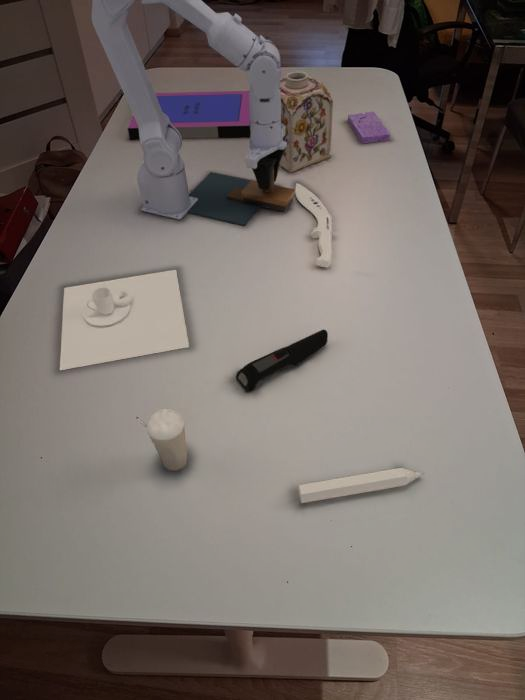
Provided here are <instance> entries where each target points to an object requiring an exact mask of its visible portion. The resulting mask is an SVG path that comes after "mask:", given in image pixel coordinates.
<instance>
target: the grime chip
mask: <svg viewBox="0 0 525 700" xmlns="http://www.w3.org/2000/svg"><path fill="white" fill-rule="evenodd" d="M242 190H243V188H238V187H235V188H234V189H233V190H232V191H231V192H230V193H229V195H228V196H227V199H228V200H233V201H237V202H242V203H244V198H243V197H241V191H242Z"/></svg>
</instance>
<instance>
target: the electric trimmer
mask: <svg viewBox="0 0 525 700" xmlns="http://www.w3.org/2000/svg"><path fill="white" fill-rule="evenodd" d="M328 333H329V332H328V331H327V330H326V329H321V330H319V331H316V332H314V333H311V334H310V335H308V336H306V337H304V338H301V339H299V340H297V341H296V342H292V343H291V344H289V345H287V346H284V347H280V348H278V349H277V350H274V351H272V352H269V353H268V354H266V355H264V356H262V357H261V356H260V357H259V358H257V359H254V360H253V361H251V362H248V363H247V364H245V365H244V366H243V367H242V368H240V369H239V370H238V371H237V373H236V375H235V380H236V382H237V383H238V384H239V386H241V389H243V391H244V392H248V391H250V392H251V391H253V390H254V389H255V388H256V387H257V386H258V384H259V383H260V382H261V381H264V380H265V379H267V378H269V377H271V376H273V375H274V374H276V373H278V372H279V371H281V370H284V369H285V368H287V367H288V366H290V367H291V366H292V367H296V366H298V365H300V364H301V363H303V362H304V361H306V360H307V359H308V358H310V357H312V356H313V355H314V354H316V353H317V352H318V351H320V350H321V349H324V347H326V346H327V344H328V337H329V334H328Z"/></svg>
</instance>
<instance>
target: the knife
mask: <svg viewBox="0 0 525 700" xmlns="http://www.w3.org/2000/svg"><path fill="white" fill-rule="evenodd" d="M294 189H295V197H296V199H297V201H298V202H299V203H300V204H301V205H302V206H303V207H304V208H305V209H307V210H308V211H309V212H310V213H311V214H312V215H313V216H314V217H315V218H316V222H317V225H316V227H314V228H313V230H311V233H310V236H311V237H312V239H318V242H317V246H318V249H319V253H320V256H319V257H316V258H315V259H314V264H315V265H316V266H318V267H321V268H329V267H330V266H331V264H332V261H333V260H332V259H333V226H332V225H333V223H332V222H333V221H332V220H333V219H332V218H333V217H332V215H331V214H330V212H329V211H328V209H327V208H326V206H325V205H324V204H323V202H322V201H321V200H320V198H318V196H316V194H314V193H313V192H312V191H310V189H308V188H307V187H305V186H303V185H302V184H300V183H298V182H296V184H295V188H294Z"/></svg>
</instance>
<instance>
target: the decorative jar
mask: <svg viewBox="0 0 525 700" xmlns="http://www.w3.org/2000/svg"><path fill="white" fill-rule="evenodd" d="M279 89H280V92H281V125H284V126H285V136H284V137H283V141H285V142H287V146H286V150H285V152H284V154H283V156H282V158H281V161H280V165H279V167H281V168H283V169H285V170H286V171H287V172H289V173H293V172H296V171H298V170H301V169H303V168H306V167H308V166H311V165H313V164H317V163H319V162H322V161H323V160H326V159H329V158H330V156H331V146H332V131H333V129H332V128H333V110H334V109H333V108H334V100H333V98H332V96H331V93H330V92H329V90H328V89H327V88H326V85H325V84H324V82H322V81H320V80H318V79H316V78H314V77H312V76H309V75H308V73H307V72H304V71H292V72H288V73H287V74H286V75H285V77H281V78H280V88H279Z"/></svg>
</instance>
